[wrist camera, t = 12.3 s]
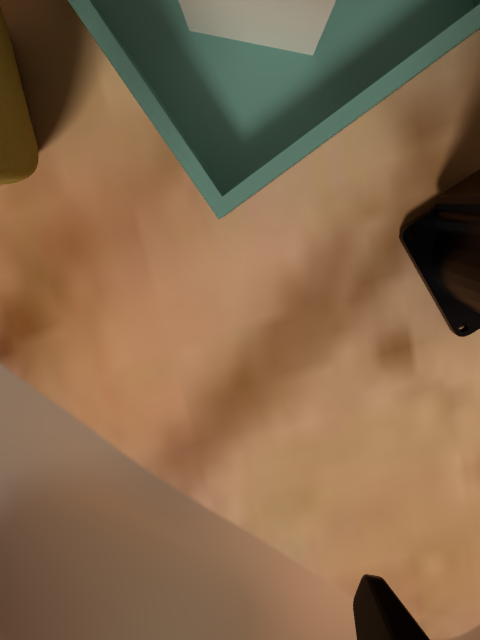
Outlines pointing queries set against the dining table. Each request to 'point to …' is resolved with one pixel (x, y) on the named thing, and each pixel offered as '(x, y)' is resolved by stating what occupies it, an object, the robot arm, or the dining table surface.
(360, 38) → the teal bin
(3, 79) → the flower pot
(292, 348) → the dining table surface
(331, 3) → the stone block
